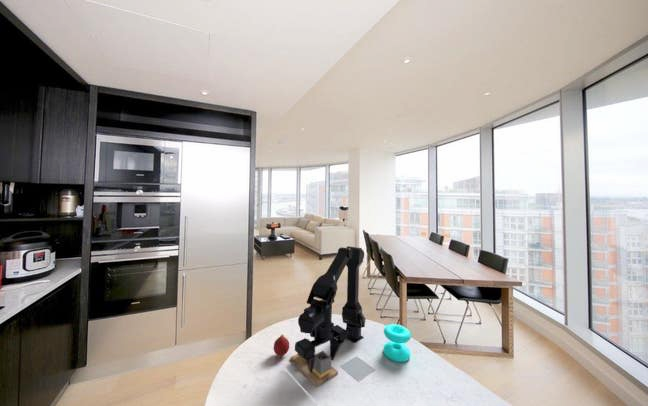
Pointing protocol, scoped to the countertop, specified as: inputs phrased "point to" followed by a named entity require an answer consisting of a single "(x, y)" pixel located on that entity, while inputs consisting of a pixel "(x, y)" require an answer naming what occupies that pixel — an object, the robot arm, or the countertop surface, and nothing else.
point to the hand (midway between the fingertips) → (321, 365)
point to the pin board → (312, 376)
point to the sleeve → (322, 364)
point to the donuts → (397, 343)
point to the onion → (281, 346)
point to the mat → (357, 368)
